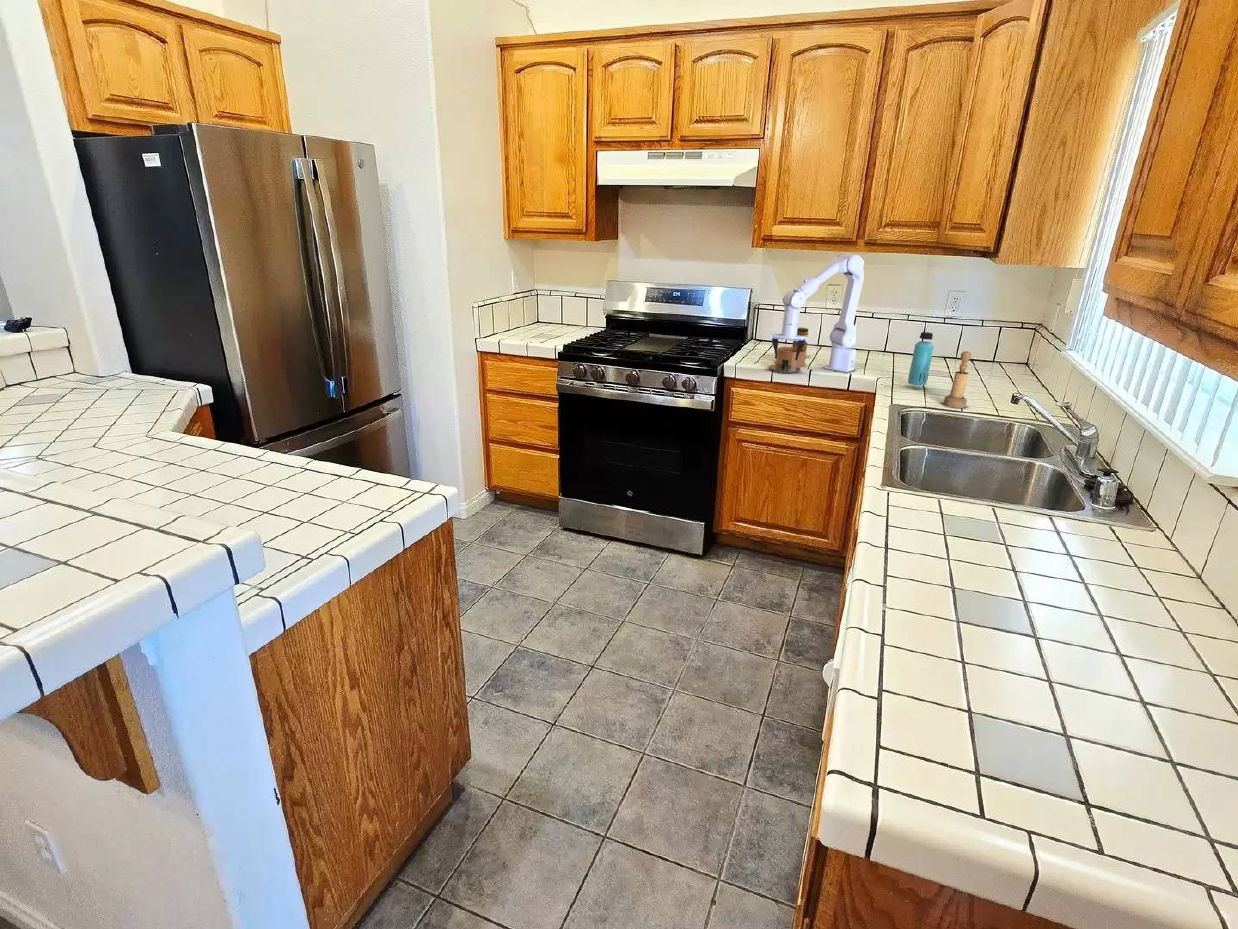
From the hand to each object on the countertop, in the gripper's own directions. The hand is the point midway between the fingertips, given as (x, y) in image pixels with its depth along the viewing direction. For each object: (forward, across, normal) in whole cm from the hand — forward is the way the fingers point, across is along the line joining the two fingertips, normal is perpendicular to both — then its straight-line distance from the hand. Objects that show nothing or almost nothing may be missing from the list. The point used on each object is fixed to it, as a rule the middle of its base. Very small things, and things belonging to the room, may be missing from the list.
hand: (785, 359), depth 252 cm
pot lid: (+4, 0, 0) cm, 4 cm away
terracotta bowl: (+5, -2, -14) cm, 15 cm away
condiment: (+5, -5, -30) cm, 31 cm away
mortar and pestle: (+5, -55, +30) cm, 63 cm away
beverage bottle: (+5, -47, +9) cm, 48 cm away
